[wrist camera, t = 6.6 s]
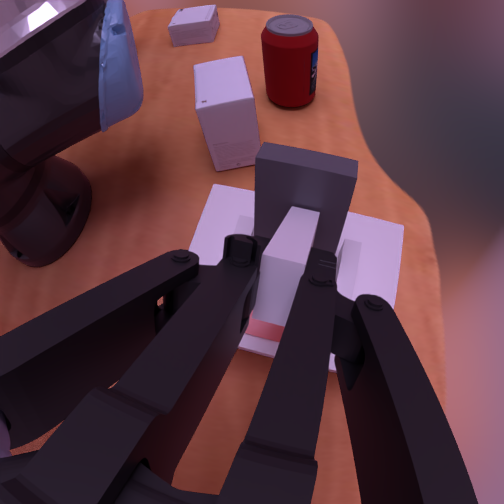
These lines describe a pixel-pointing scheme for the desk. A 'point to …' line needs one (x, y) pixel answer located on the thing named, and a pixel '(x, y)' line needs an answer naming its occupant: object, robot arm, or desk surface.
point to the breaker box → (348, 255)
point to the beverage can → (290, 59)
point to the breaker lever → (303, 190)
